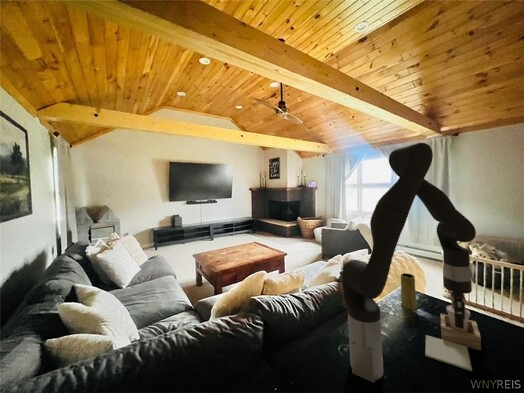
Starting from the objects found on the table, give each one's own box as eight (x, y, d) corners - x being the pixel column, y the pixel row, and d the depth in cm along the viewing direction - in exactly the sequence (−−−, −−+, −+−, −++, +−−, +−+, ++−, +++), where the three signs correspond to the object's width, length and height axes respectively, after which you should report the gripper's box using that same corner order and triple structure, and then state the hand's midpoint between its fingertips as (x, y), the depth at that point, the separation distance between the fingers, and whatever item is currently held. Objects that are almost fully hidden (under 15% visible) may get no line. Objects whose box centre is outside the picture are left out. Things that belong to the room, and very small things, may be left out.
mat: (471, 371, 65) (471, 369, 65) (425, 356, 71) (425, 354, 71) (467, 348, 73) (467, 346, 73) (426, 336, 80) (425, 334, 80)
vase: (416, 304, 101) (415, 273, 100) (417, 311, 96) (416, 279, 95) (401, 301, 104) (399, 272, 103) (401, 308, 99) (399, 276, 98)
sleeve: (481, 350, 72) (480, 337, 72) (441, 339, 78) (441, 327, 78) (476, 333, 80) (475, 321, 80) (440, 324, 86) (440, 313, 86)
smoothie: (476, 342, 75) (474, 302, 75) (454, 341, 76) (453, 302, 76) (463, 330, 81) (461, 293, 81) (443, 329, 83) (441, 293, 82)
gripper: (442, 267, 86) (443, 309, 87) (444, 281, 75) (445, 329, 75) (468, 271, 81) (469, 315, 82) (474, 286, 70) (476, 337, 71)
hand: (458, 321), depth 79 cm, fingers closed on smoothie, 6 cm apart
